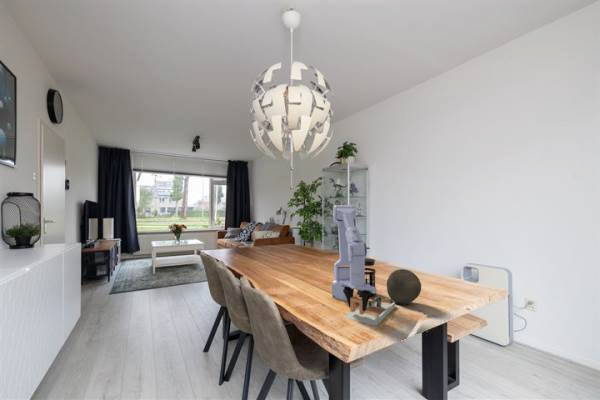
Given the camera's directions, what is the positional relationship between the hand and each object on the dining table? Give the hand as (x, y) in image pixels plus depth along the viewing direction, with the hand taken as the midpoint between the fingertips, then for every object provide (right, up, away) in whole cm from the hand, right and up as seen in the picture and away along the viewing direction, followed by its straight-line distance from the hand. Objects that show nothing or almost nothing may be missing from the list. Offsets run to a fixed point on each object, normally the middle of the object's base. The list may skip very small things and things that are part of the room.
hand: (357, 308), depth 104 cm
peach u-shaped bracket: (0, -1, 0) cm, 1 cm away
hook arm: (+8, -4, +5) cm, 10 cm away
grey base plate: (+6, -4, +4) cm, 8 cm away
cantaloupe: (+24, -4, +15) cm, 29 cm away
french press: (+10, -5, +29) cm, 31 cm away
